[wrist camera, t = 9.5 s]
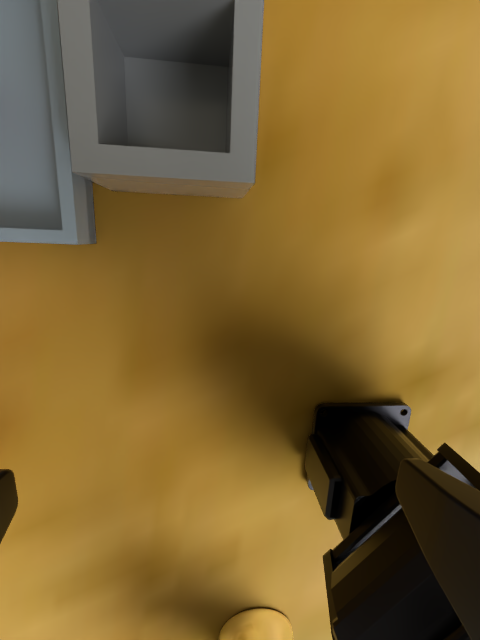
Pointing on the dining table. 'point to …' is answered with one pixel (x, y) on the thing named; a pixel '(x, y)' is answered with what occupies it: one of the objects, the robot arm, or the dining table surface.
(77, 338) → the dining table surface
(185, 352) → the dining table surface
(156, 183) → the hollow square socket
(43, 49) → the tray
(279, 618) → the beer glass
